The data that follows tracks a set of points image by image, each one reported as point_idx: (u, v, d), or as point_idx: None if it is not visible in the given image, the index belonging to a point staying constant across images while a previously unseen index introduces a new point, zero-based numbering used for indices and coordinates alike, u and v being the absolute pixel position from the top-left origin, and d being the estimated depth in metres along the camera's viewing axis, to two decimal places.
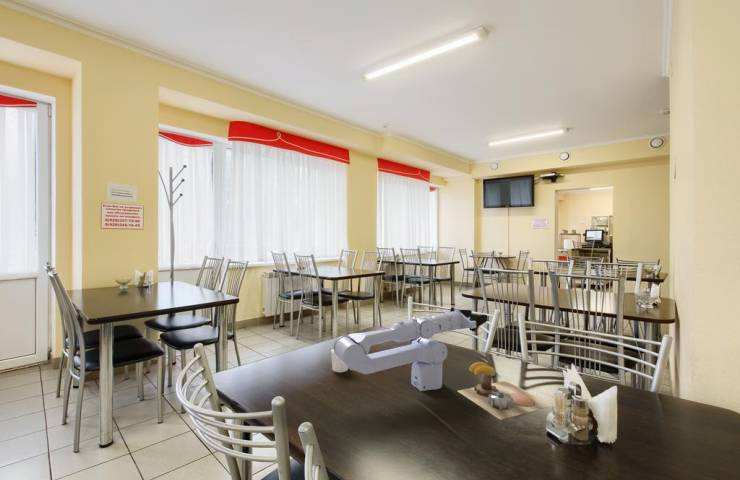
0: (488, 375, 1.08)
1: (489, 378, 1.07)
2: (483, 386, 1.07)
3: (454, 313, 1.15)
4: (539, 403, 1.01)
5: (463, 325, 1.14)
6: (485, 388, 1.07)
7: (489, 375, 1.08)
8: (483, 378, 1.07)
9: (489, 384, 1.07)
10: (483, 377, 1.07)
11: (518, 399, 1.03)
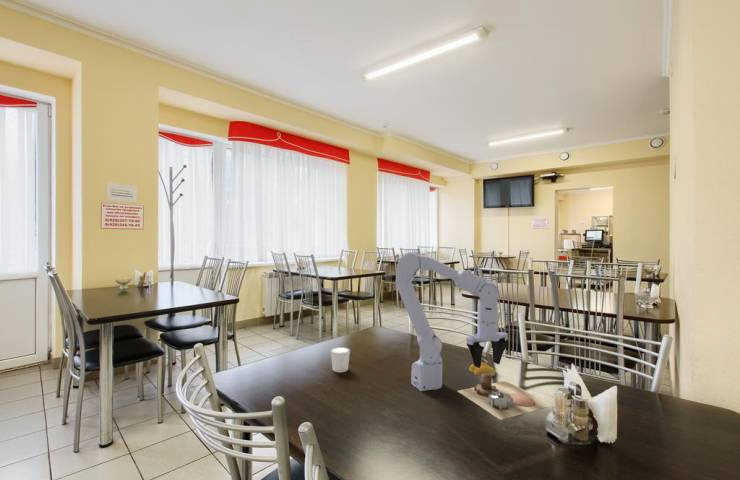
0: (488, 375, 1.08)
1: (489, 378, 1.07)
2: (483, 386, 1.07)
3: (491, 333, 1.05)
4: (539, 403, 1.01)
5: (477, 336, 1.08)
6: (485, 388, 1.07)
7: (489, 375, 1.08)
8: (483, 378, 1.07)
9: (489, 384, 1.07)
10: (483, 377, 1.07)
11: (518, 399, 1.03)
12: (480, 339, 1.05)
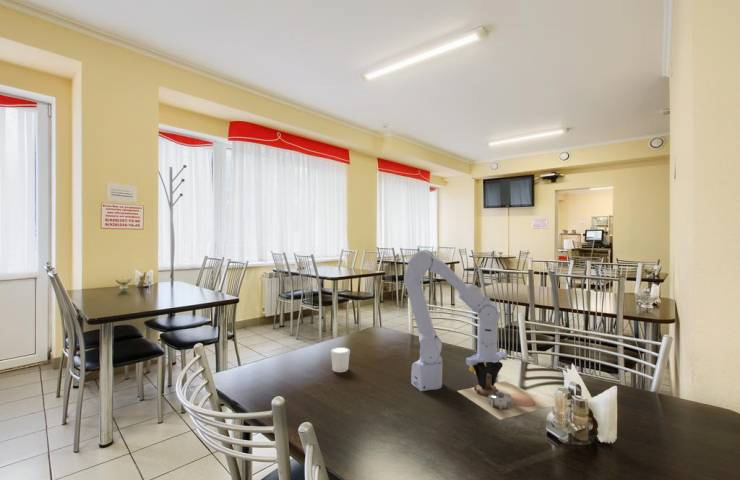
0: (488, 375, 1.08)
1: (489, 378, 1.07)
2: None
3: (491, 354, 1.05)
4: (539, 403, 1.01)
5: (476, 356, 1.08)
6: (485, 388, 1.07)
7: (489, 375, 1.08)
8: None
9: (489, 384, 1.07)
10: None
11: (518, 399, 1.03)
12: (480, 360, 1.05)
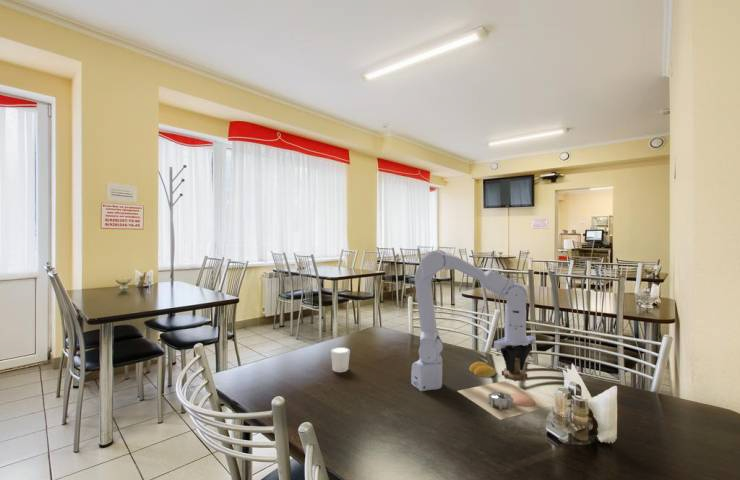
0: (516, 359, 1.04)
1: (518, 362, 1.02)
2: None
3: (520, 337, 1.01)
4: (539, 403, 1.01)
5: (504, 340, 1.03)
6: (514, 372, 1.03)
7: (517, 359, 1.04)
8: None
9: (518, 368, 1.02)
10: None
11: (518, 399, 1.03)
12: (508, 343, 1.00)
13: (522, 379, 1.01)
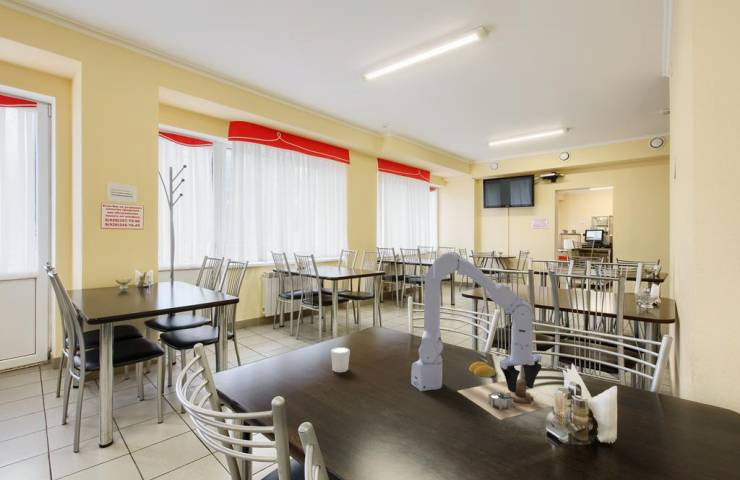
0: (522, 381, 1.03)
1: (524, 385, 1.02)
2: (517, 393, 1.02)
3: (526, 356, 1.00)
4: (539, 403, 1.01)
5: (510, 359, 1.03)
6: (519, 395, 1.02)
7: (523, 381, 1.03)
8: (517, 385, 1.02)
9: (524, 391, 1.02)
10: (517, 384, 1.02)
11: None
12: (514, 363, 1.00)
13: (528, 402, 1.00)
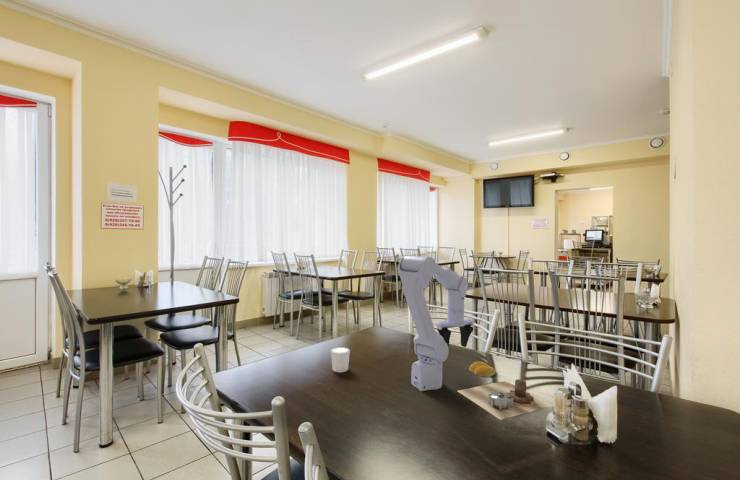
0: (522, 381, 1.03)
1: (524, 385, 1.02)
2: (517, 393, 1.02)
3: (458, 319, 1.21)
4: (539, 403, 1.01)
5: (446, 322, 1.24)
6: (519, 395, 1.02)
7: (523, 381, 1.03)
8: (517, 385, 1.02)
9: (524, 391, 1.02)
10: (517, 384, 1.02)
11: None
12: (448, 324, 1.20)
13: (528, 402, 1.00)
